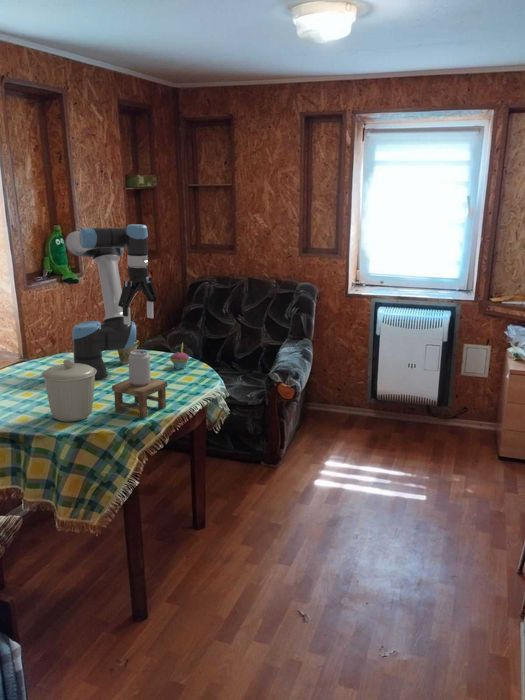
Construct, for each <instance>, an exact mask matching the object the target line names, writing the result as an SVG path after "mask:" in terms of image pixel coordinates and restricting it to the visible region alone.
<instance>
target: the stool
mask: <svg viewBox="0 0 525 700" xmlns="http://www.w3.org/2000/svg"><path fill="white" fill-rule="evenodd" d="M166 388H168V381H166V380H162V379H156V378H151V377H150V382H149V383H148V384H147V385H144V386H134V385H132V384H131V383H130V382H129V378H128V379H125V380H123V381H120V382H118V383H115V384H113V385H111V391H112V392H114V393H113V394H114V412H115V413H122V412H123V411H124V408H127V409H131V410H136V411H138V418H141V419H145V418H147V417H148V400H150V401H155V402H157V408H158V409H161V410H162V409H163V410H164V409H166V407H167V404H166V403H167V402H166V401H167V399H166V395H167V394H166ZM154 393H155V394H156V393H157V396H155V395H152V394H154ZM123 394H125V395H130V396H134V403H136V404H132V403H128V402H124V399H123V398H124V397H123ZM138 403H139V404H138ZM137 404H138V405H137Z"/></svg>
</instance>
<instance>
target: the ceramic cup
mask: <svg viewBox="0 0 525 700" xmlns="http://www.w3.org/2000/svg"><path fill="white" fill-rule="evenodd" d="M139 346H140V341H139V339H138V340H137V339H136V340H135V344H134V345H133V347H131V348H126V349H118V350H117V353H118V358H119V363H120V364H122V363H123V365H129V355H130V352H131V351H135V350H138V349H137V348H138V347H139Z"/></svg>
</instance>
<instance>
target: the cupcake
mask: <svg viewBox="0 0 525 700" xmlns="http://www.w3.org/2000/svg"><path fill="white" fill-rule="evenodd" d="M183 349H184V342H182V343H181V348H180V352H179V351H177V352H175V353H173V354H171V356H170V360H169V361H171V362H172V364H173V367H174V369H176V368H183V369H185V368H186V365H187V363H188V361H189V360H190V356H189V355H188V354H187V353H185V352H183ZM184 367H185V368H184Z"/></svg>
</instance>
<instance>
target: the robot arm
mask: <svg viewBox="0 0 525 700" xmlns="http://www.w3.org/2000/svg"><path fill="white" fill-rule="evenodd" d="M148 236H149V234H148V226H147V225H146V224H139V223H138V224H136V223H135V224H133V223H131V224H128V225H127V226H123V227H83V228H81V229H80V230H75V231H72V232H70V233H68V234H67V236H66V237H65V240H64V245H65V247H66V249H67V251H68V252H69V253H71V254H72V255H75V256H77V257H83V258H92V260H93V263H94V264H96V265H97V269H98V274H99V275H98V276H99V282H100V289H101V294H102V295H101V296H102V301H103V309H104V314H105V317H104V318H103V319H102V323H101V321H98V320H87V321H83V322H80V323H77V324H76V325H74V326H73V327H72V333H71V334H72V335H71V338H72V348H73V361H74V363H80V364H86V365H89V366H91V367H93V368H95V369H96V370H97V372H96V374H95V380H94V381H97V380H101V379H104V378H106V377H107V376H108V371H107V367H106V366H105V362H104V360H103V352H105V351H106V352H107V351H118V349H126V348H131V347H133V345H134V344H135V340H137V325H136V323H135V322H134V321H131V320H132V319H131V317H132V316H131V307H130V305H131V303H132V301H133V298H134V297H135V295H136V294H137V292H140V291H141V292H142V293H143V294H144V296H145V298H146V299H147V301H146V318H147V319H154V318H155V317H154V309H155V303H156V302H157V300H158V298H159V297H158V294H157V292H156V289H155V286H154V284H153V283H154V282H153V277H151V276H149V268H148V265H149V260H148V256H149V246H148V245H149V244H148V243H149V242H148V241H149V239H148V238H149V237H148ZM125 248H126V249H127V251H126V252H127V266H128V267H127V276H128V277H129V280H123V287H122V283H121V277H120V271H119V264H118V262H119V261H120V260H121V256H123V253H124V249H125Z"/></svg>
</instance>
